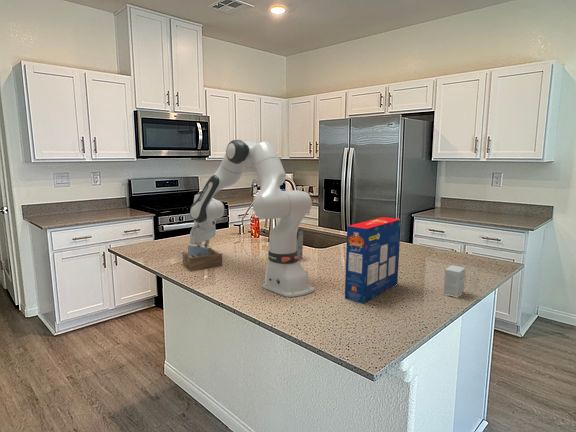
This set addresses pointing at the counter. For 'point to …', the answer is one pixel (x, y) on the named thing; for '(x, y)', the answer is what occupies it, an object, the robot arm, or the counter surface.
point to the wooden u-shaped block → (202, 260)
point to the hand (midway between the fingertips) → (203, 248)
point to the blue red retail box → (371, 258)
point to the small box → (454, 280)
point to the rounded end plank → (197, 250)
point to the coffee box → (299, 243)
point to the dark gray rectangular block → (199, 255)
